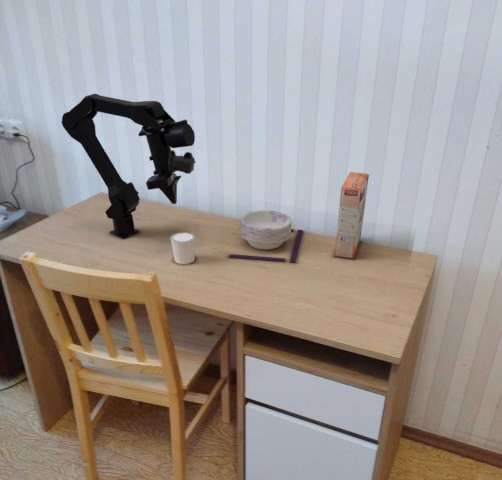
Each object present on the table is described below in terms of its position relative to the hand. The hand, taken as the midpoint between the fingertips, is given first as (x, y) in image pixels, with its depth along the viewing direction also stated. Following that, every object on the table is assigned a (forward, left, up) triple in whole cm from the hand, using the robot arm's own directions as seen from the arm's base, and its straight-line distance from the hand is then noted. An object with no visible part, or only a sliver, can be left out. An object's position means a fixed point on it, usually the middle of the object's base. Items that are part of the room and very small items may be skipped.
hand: (174, 203), depth 155 cm
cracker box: (+42, +29, -13) cm, 53 cm away
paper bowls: (+21, +16, -13) cm, 29 cm away
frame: (+22, +17, -12) cm, 30 cm away
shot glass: (+10, -7, -13) cm, 18 cm away
